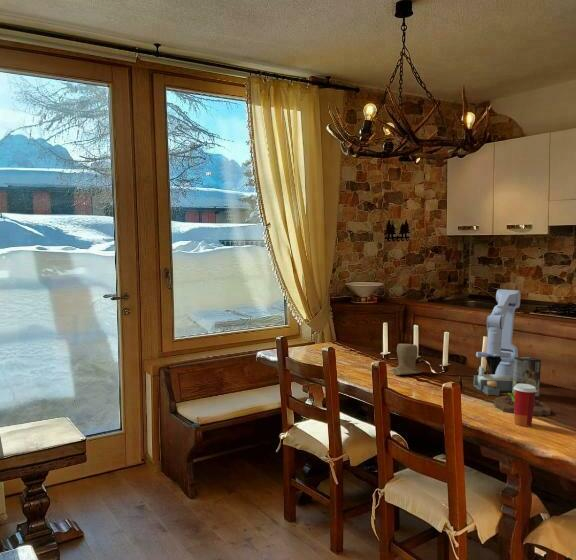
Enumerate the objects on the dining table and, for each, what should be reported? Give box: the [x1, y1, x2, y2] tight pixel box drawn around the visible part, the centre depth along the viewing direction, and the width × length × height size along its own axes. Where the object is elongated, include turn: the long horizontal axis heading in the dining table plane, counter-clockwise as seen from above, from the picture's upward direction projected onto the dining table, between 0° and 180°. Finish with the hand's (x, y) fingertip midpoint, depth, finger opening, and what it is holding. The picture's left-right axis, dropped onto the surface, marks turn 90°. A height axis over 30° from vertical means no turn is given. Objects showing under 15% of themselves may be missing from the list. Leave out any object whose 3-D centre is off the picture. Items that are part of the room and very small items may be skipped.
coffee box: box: [511, 356, 542, 397], centre depth 242 cm, size 9×6×16 cm
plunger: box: [487, 381, 497, 388], centre depth 242 cm, size 4×4×5 cm
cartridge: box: [477, 365, 511, 386], centre depth 251 cm, size 5×13×9 cm, turn 92°
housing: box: [473, 374, 513, 397], centre depth 248 cm, size 15×16×5 cm
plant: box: [493, 381, 551, 417], centre depth 222 cm, size 20×20×11 cm
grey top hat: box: [391, 343, 423, 376], centre depth 275 cm, size 15×12×15 cm
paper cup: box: [513, 384, 537, 428], centre depth 201 cm, size 8×8×14 cm
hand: (492, 373), depth 242 cm, fingers closed
